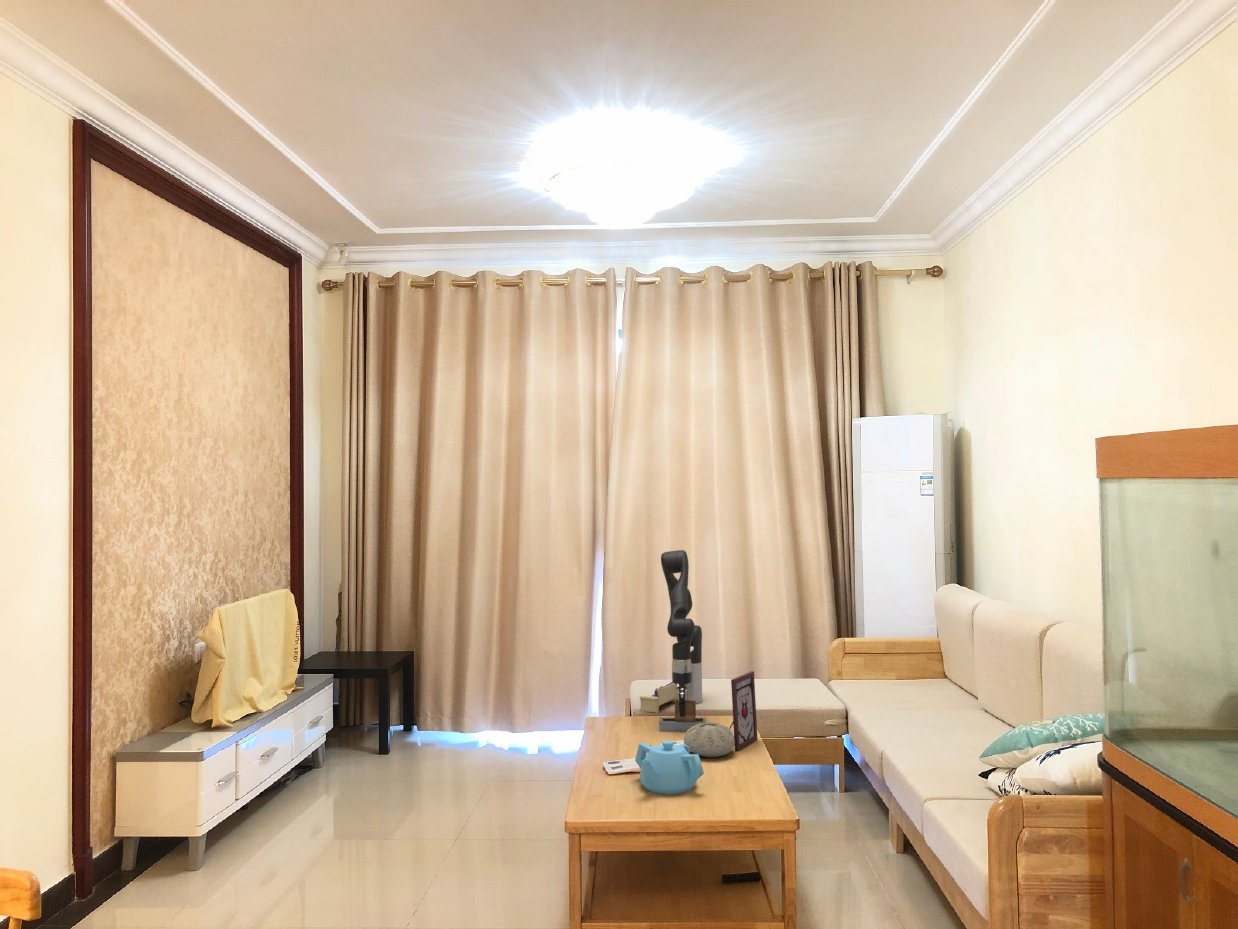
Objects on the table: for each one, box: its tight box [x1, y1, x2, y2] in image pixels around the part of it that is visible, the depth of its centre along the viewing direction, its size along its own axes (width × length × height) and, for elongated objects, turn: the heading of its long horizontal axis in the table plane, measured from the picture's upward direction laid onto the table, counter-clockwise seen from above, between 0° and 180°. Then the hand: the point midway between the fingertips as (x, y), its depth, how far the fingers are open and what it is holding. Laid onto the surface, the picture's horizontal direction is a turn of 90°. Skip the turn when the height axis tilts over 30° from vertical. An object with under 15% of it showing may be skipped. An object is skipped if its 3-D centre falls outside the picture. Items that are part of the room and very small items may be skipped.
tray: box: [658, 716, 707, 733], centre depth 327 cm, size 7×18×4 cm, turn 86°
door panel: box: [674, 699, 697, 722], centre depth 327 cm, size 3×8×10 cm, turn 86°
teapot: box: [634, 740, 705, 795], centre depth 263 cm, size 19×19×14 cm
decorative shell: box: [683, 721, 735, 758], centre depth 295 cm, size 18×18×10 cm
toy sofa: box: [639, 681, 678, 714], centre depth 362 cm, size 21×9×10 cm, turn 151°
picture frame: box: [728, 670, 758, 753], centre depth 307 cm, size 17×10×25 cm, turn 146°
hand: (682, 715), depth 327 cm, fingers closed on door panel, 3 cm apart
